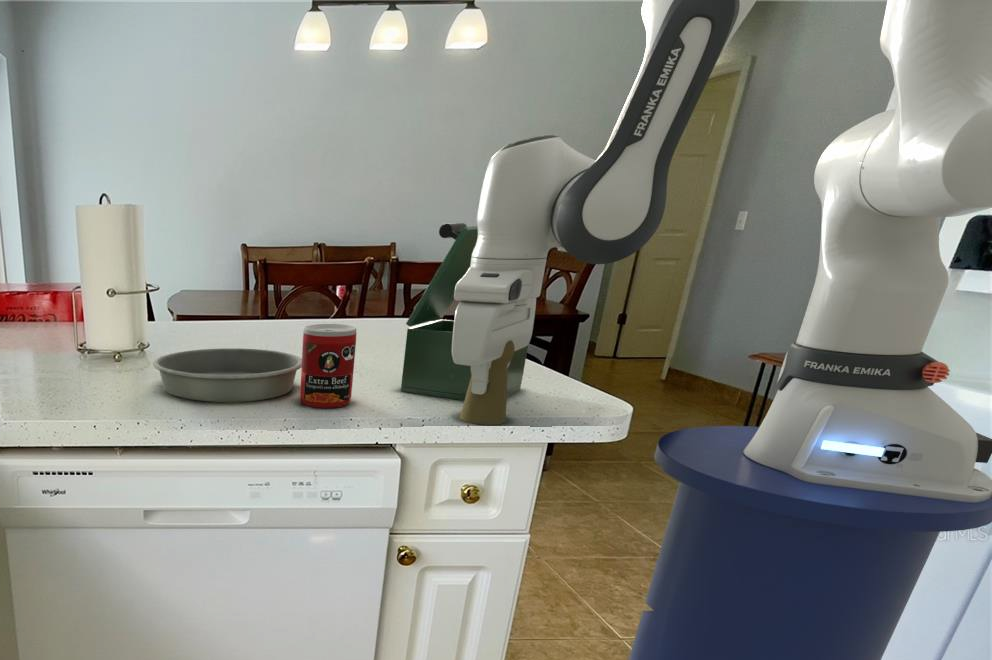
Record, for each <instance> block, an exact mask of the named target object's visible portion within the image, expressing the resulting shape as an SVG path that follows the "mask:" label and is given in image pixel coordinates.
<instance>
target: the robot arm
mask: <svg viewBox="0 0 992 660" xmlns="http://www.w3.org/2000/svg"><path fill="white" fill-rule="evenodd" d="M756 2H757V0H643V2H642V6H641V9H640V10H641V11H640V12H641V19H642V23H643V26H644V27H645V32H646V33H645V34H646V45H645V46H646V47H645V52H644V56H643V61H642V64H641V66H640V69H639V72H638V74H637V77H636V79H635V81H634V83H633V85H632V88H631V90H630V92H629V95H628V96H627V99H626V101H625V103H624V106H623V108H622V110H621V112H620V115H619V117H618V119H617V122H616V124H615V126H614V128H613V131H612V132H611V134H610V137H609V140H608V141H607V144H606V146H605V148H603V150H602V152H601V153H600V154H599V156H598V157H597V159H594V158H591V157H589V156H587V155H586V154H583V153H582V152H579V151H578V150H576V149H575V148H572V147H571V146H570V145H568V144H567V143H566V142H565V141H564V140H563V139H562V138H561V137H560V136H557V135H551V134H549V135H538V136H534V137H529V138H525V139H522V140H517V141H515V142H512V143H508V144H507V145H505V146H503V147H501V148H500V149H499V150H498V151H497V152H495V154H494V155H493V156H491V158H490V160H489V162H488V163H487V167H486V170H485V174H484V176H483V182H482V185H481V190H480V194H479V195H480V196H479V201H478V207H477V215H476V226H477V227H478V237H477V242H476V245H475V248H474V250H473V252H472V257H471V264H470V268H469V269H468V271H467V273H466V274H465V275H464V276H463V277H462V278H461V279H460V280H459V281H458V282H457V284H456V286H455V292H454V301H458V304H457V306H456V308H455V313H454V320H453V321H454V327H453V338H452V357H453V361H454V363H455V364H460V365H467V366H471V374H472V380H473V381H472V388H471V391H472V393H474V394H480V395H482V394H484V393H486V392H487V391H488V390H489V384H490V380H488V374H489V368H490V367H491V361H493V360H495V359H497V358H500V357H501V356H502V354H503V351H504V348H505V345H506V343H507V342H508V341H510V340H511V341H513V343H514V347H515V351H516V350H519V349H521V348H523V347H526V346H528V347H529V345H530V342H531V339H532V336H533V331H534V324H535V317H536V310H537V309H536V307H537V298H539V297H540V296H541V291H542V285H543V282H544V275H545V270H546V264H547V258H548V253H549V251H550V250H551V249H554V248H563V249H564V250H565V251H566V252H567V253H568V254H569V256H571V257H572V258H574V259H576V260H578V261H580V262H582V263H586V264H590V265H607V264H612V263H616V262H620V261H622V260H624V259H626V258H628V257H630V256H632V255H634V254H635V253H637V252H638V251H639V250H640V249H642V248H643V247H644V246H645V245H646V244H648V242H649V241H650V240H651V238H653V236H654V235H655V233H656V232H657V230H658V229H659V227H660V225H661V222H662V219H663V217H664V213H665V209H666V202H667V190H668V177H669V171H670V166H671V163H672V159H673V158H674V154H675V152H676V150H677V147H678V144H679V143H680V141H681V138H682V136H683V134H684V132H685V130H686V128H687V125H688V123H689V121H690V119H691V118H692V115H693V113H694V111H695V108H696V107H697V104H698V102H699V100H700V98H701V96H702V94H703V91H704V89H705V87H706V85H707V83H708V81H709V79H710V77H711V75H712V72H713V71H714V69H715V67H716V65H717V63H718V60H719V59H720V58H721V55H722V54H723V53H724V51H725V49H726V48H727V46H728V45H729V43H730V41H731V40H732V38H733V37H734V35H735V34H736V32H737V31H738V29H739V28H740V26H741V25H742V23H743V22H744V21H745V19H746V17H747V16H748V14H749V13H750V11H751V10H752V8H753V7H754V5H755V4H756ZM879 46H880V50H881V52H882V53H883V55H884V56H885V57H886V58H887V60H888V61H889V64H890V66H891V70H892V75H893V76H892V77H893V83H894V95H895V96H894V97H895V108H893V109H889V110H886V111H882V112H880V113H877V114H875V115H873V116H871V117H869V118H867V119H864V120H863V121H861V122H859V123H857V124H855V125H854V126H852V127H850V128H848V129H847V130H845V131H844V132H842V133H840V134H839V135H838V136H837V137H835V139H833V141H831V142H830V143H829V145H828V146H827V147H826V148H825V150H824V151H823V152H822V154H821V156H820V158H819V159H818V161H817V163H816V166H815V170H814V176H813V183H814V184H813V185H814V189H815V192H816V194H817V196H818V198H819V200H820V204H821V224H820V225H821V227H820V243H819V244H820V245H819V255H818V256H819V257H818V265H817V271H816V275H815V280H814V284H813V288H812V291H811V294H810V297H809V300H808V304H807V307H806V310H805V313H804V316H803V319H802V323H801V326H800V329H799V332H798V336H797V338H796V341H793V342H791V344H790V347H789V349H788V351H787V352H786V353H785V356H784V359H783V362H782V365H781V368H780V371H779V375H778V378H777V385H776V387H777V388H776V389H777V391H776V393H775V396H774V398H773V400H772V402H771V404H770V407H769V409H768V411H767V412H766V415H765V417H764V418H763V420H762V422H761V424H760V425H759V426H758V427H759V429H758V431H757V432H756V434H755V435H754V437H753V438H752V440H751V441H750V443H749V444H748V445H747V447H746V448H745V449H744V451H743V452H744V454H745V455H746V456H747V457H748V458H750V459H751V460H753V461H755V462H757V463H760V464H762V465H765V466H768V467H771V468H774V469H777V470H780V471H783V472H785V473H787V474H789V475H791V476H793V477H795V478H797V479H799V480H802V481H805V482H810V483H817V484H825V485H833V486H841V487H849V488H856V489H864V490H872V491H880V492H888V493H896V494H904V495H912V496H920V497H928V498H935V499H943V500H951V501H959V502H968V503H978V502H983V501H986V500H988V499H990V498H991V496H992V480H991V479H992V478H991V477H990V476H989V475H988V474H987V473H985V472H983V471H982V470H980V469H978V468H975V465H976V463H980V464H981V463H982V464H987V463H988V462H989V460H990V458H991V457H992V438H990V437H989V436H986V435H983V434H981V433H979V432H976V431H975V428H974V427H973V426H972V425H971V424H970V423H969V422H968V421H967V420H966V419H965V418H964V417H963V416H961V414H959V413H958V412H957V411H956V410H955V409H954V408H953V407H952V406H951V405H950V404H948V403H947V402H946V401H945V400H944V399H943V398H942V397H940V396H939V394H937V393H936V392H935V391H933V390H932V389H931V388H930V387H932V386H934V385H935V384H937V383H941V382H943V380H947V379H948V377H949V376H950V372H951V370H950V369H949V367H948V365H947V364H946V363H944V362H941V361H939V360H936V359H935V358H933V357H932V356H930V355H928V354H927V353H926V352H923V351H922V350H923V348H924V345H925V343H926V341H927V338H928V336H929V334H930V331H931V329H932V326H933V323H934V321H935V319H936V316H937V314H938V311H939V308H940V305H942V304H941V303H942V301H943V298H944V296H945V293H946V291H947V288H948V286H949V273H948V269H947V267H946V266H945V264H944V262H943V261H942V257H941V253H940V231H941V230H940V229H941V220H942V218H953V217H961V216H965V215H969V214H974V213H977V212H981V211H985V210H989V209H992V0H887V1H886V6H885V11H884V17H883V21H882V26H881V31H880V36H879ZM509 364H510V362H509V363H508V366H509Z"/></svg>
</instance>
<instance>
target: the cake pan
mask: <svg viewBox="0 0 992 660" xmlns="http://www.w3.org/2000/svg"><path fill="white" fill-rule="evenodd" d="M152 366H153V368H154V369H156V370H158V371H159V374H160V378H161V382H162V387H163V389H164V390H165V392H167V394H170V395H172V396H175V397H179V398H181V399H182V398H183V399H187V400H192V401H193V400H194V401H202V402H214V403H215V402H218V403H240V402H241V403H242V402H256V401H263V400H269V399H274V398H278V397H281V396H284V395H286V394H288V393H289V392H291V391H292V389H293V387H294V382H295V379H296V376H297V375H296V374H297V371H298V370H300V369H302V357H299V356H297V355H296V354H292V353H288V352H284V351H279V350H270V349H261V348H245V347H244V348H242V347H223V348H221V347H220V348H219V347H218V348H201V349H191V350H190V349H189V350H183V351H177V352H171V353H167V354H164V355H161V356H159V357H157V358H155V359H154V360H153V361H152Z"/></svg>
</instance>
